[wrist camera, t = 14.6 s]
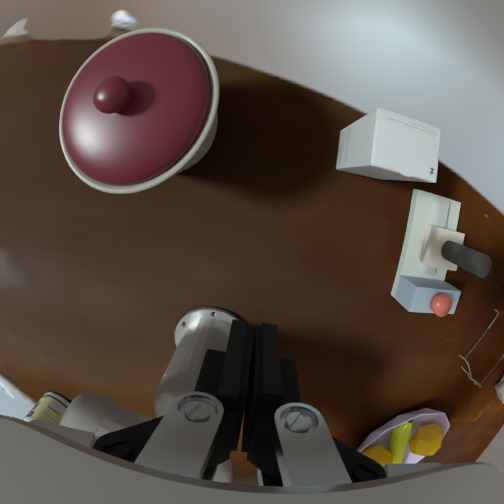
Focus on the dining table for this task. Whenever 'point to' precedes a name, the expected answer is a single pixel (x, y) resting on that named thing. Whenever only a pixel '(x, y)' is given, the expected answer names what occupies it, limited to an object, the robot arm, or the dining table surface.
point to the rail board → (410, 268)
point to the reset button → (440, 304)
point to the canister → (140, 111)
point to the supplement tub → (49, 409)
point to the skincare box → (389, 148)
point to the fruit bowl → (406, 437)
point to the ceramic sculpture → (500, 389)
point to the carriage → (451, 252)
